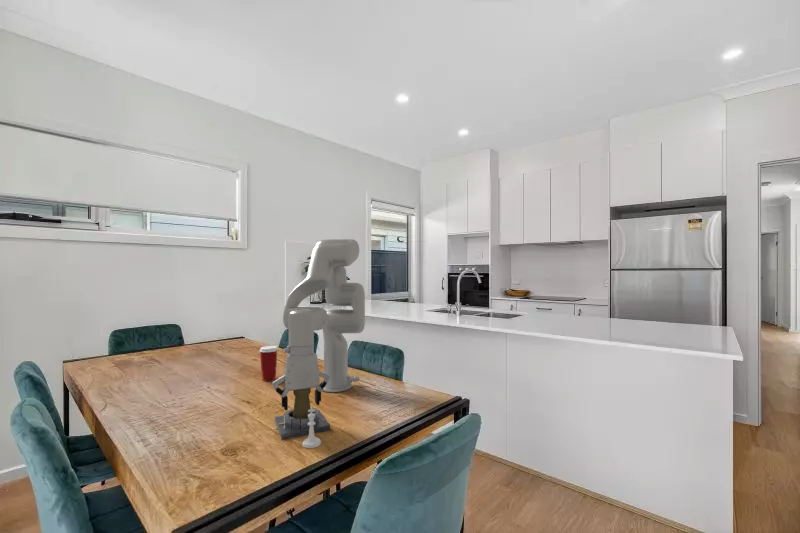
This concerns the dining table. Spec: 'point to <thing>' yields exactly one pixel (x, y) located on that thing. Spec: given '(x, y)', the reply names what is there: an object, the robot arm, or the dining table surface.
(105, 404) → the dining table surface
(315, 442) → the chess piece
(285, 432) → the socket
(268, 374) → the paper cup
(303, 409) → the olive game pawn
